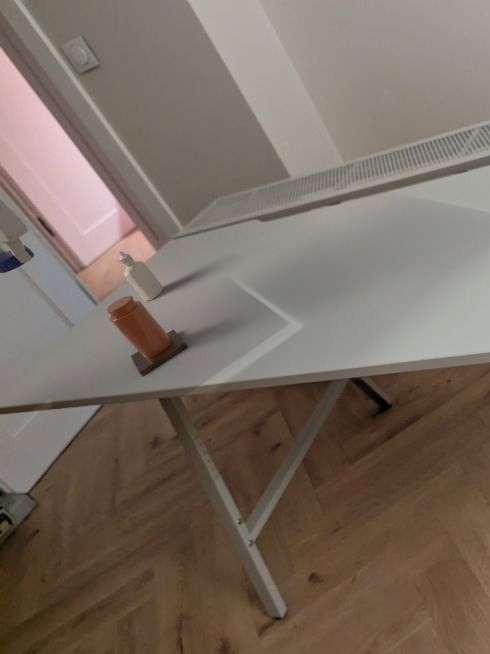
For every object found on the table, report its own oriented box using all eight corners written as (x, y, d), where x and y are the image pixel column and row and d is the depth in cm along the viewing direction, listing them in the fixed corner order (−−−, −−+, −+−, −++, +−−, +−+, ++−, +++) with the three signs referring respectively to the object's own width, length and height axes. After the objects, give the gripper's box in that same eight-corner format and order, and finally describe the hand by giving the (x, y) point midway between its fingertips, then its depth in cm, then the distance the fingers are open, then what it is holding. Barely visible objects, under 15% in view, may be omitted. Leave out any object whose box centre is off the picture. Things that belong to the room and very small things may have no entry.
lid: (40, 253, 97) (32, 244, 96) (9, 273, 93) (-1, 263, 92) (25, 254, 100) (16, 245, 99) (-7, 273, 96) (-16, 264, 95)
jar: (147, 361, 99) (107, 316, 93) (139, 353, 103) (99, 309, 96) (176, 342, 101) (138, 297, 95) (166, 334, 105) (129, 291, 99)
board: (142, 376, 97) (139, 372, 97) (133, 359, 104) (130, 356, 103) (187, 347, 100) (184, 343, 100) (176, 332, 107) (173, 329, 106)
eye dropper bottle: (140, 300, 127) (104, 258, 120) (160, 286, 130) (126, 244, 123) (148, 302, 124) (112, 259, 117) (169, 288, 127) (134, 244, 120)
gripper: (-4, 175, 85) (61, 250, 93) (-55, 187, 95) (7, 254, 104) (-44, 194, 81) (28, 270, 89) (-93, 205, 91) (-25, 272, 100)
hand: (16, 261), depth 97 cm, fingers closed on lid, 6 cm apart
